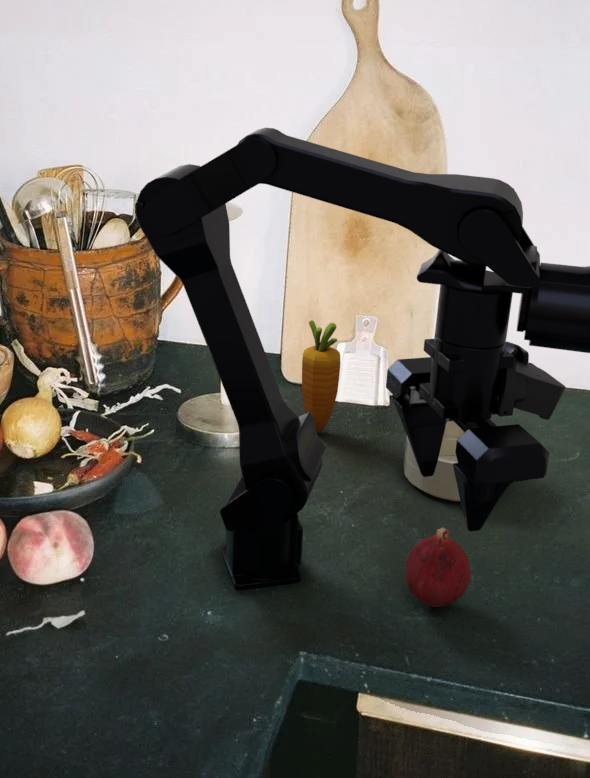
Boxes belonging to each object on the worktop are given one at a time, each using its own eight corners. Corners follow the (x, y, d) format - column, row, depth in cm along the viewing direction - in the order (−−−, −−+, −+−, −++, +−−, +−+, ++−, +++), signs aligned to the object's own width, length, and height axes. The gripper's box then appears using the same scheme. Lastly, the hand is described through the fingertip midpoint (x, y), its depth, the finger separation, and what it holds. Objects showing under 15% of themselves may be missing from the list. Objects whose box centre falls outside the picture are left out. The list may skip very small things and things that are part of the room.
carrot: (291, 426, 119) (296, 315, 113) (328, 422, 120) (334, 312, 115) (305, 444, 114) (311, 329, 109) (343, 439, 116) (351, 325, 110)
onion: (466, 630, 82) (476, 553, 79) (400, 620, 83) (407, 544, 80) (465, 591, 88) (474, 517, 85) (403, 582, 89) (410, 509, 86)
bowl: (428, 510, 101) (432, 469, 99) (388, 459, 111) (391, 421, 109) (525, 499, 103) (531, 459, 101) (477, 450, 114) (482, 413, 112)
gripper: (625, 374, 70) (591, 550, 76) (502, 294, 87) (482, 444, 93) (490, 385, 68) (465, 567, 73) (391, 301, 84) (377, 454, 90)
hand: (449, 501), depth 82 cm, fingers open, 9 cm apart
